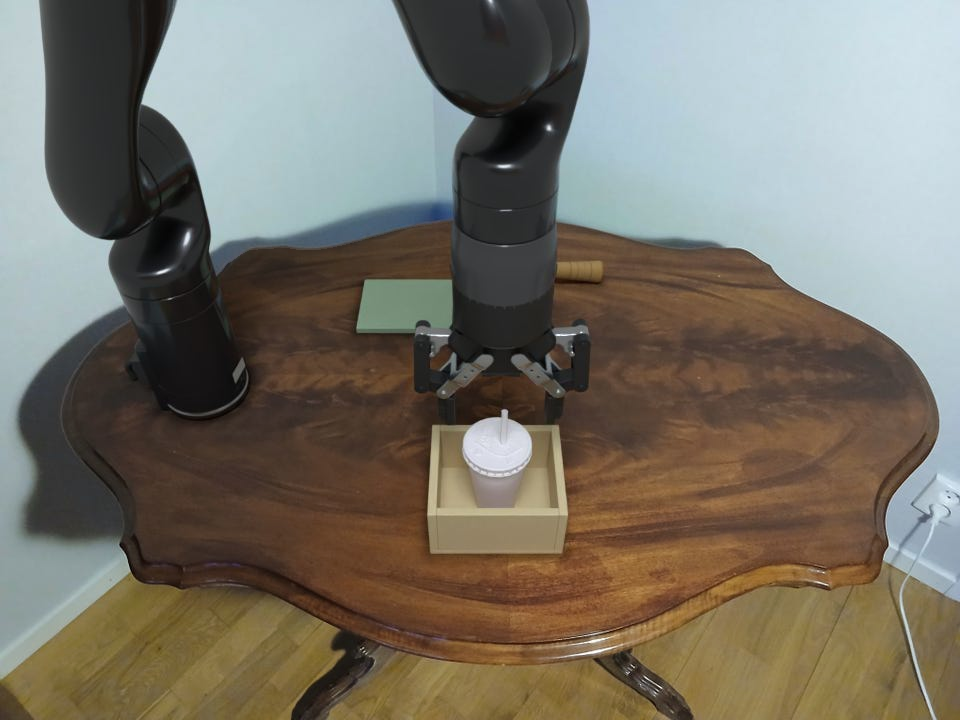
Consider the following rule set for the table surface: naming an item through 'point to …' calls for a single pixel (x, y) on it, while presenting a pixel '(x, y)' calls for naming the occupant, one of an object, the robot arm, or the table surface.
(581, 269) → the kendama
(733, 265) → the table surface
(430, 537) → the bin
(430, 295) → the mat
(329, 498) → the table surface
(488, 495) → the smoothie
